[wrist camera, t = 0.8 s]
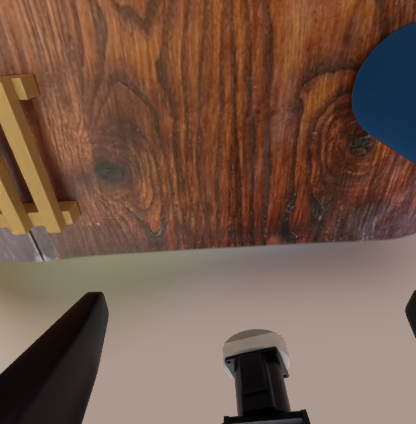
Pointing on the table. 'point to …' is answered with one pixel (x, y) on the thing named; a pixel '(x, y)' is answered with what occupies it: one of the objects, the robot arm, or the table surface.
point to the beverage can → (389, 92)
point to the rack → (27, 167)
